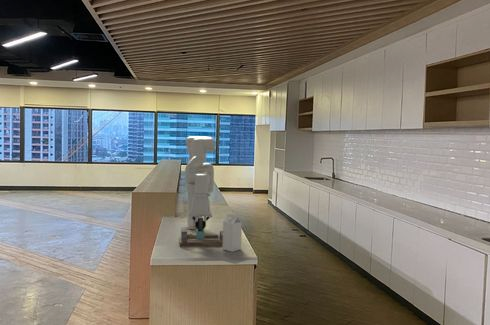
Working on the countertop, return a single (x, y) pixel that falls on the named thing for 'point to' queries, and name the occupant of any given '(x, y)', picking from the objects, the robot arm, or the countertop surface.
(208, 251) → the countertop surface
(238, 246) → the milk carton
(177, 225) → the countertop surface
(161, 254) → the countertop surface
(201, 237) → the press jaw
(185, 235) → the base
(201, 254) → the countertop surface
